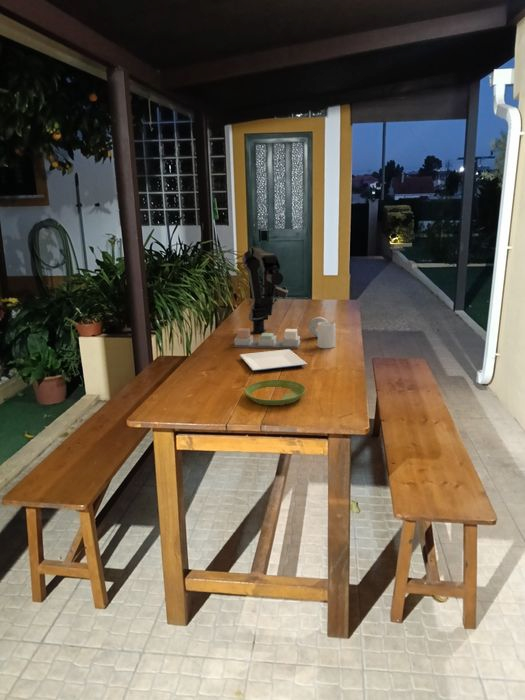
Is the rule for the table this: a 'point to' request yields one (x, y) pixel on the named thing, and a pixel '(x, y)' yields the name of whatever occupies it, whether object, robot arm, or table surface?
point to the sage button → (267, 335)
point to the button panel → (267, 343)
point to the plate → (272, 359)
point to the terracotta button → (243, 333)
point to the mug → (326, 334)
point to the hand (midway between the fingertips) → (270, 315)
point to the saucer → (294, 386)
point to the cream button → (291, 334)
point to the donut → (313, 325)
